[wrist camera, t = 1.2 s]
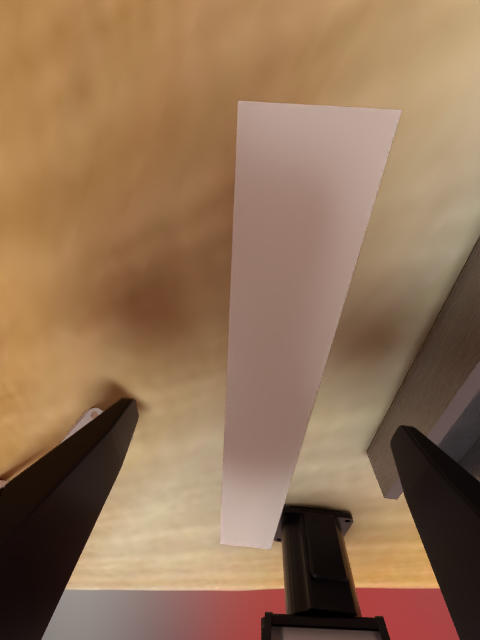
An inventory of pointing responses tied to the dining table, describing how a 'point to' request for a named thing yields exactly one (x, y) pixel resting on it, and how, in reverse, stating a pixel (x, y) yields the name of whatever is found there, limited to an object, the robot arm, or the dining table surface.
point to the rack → (441, 386)
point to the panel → (289, 287)
